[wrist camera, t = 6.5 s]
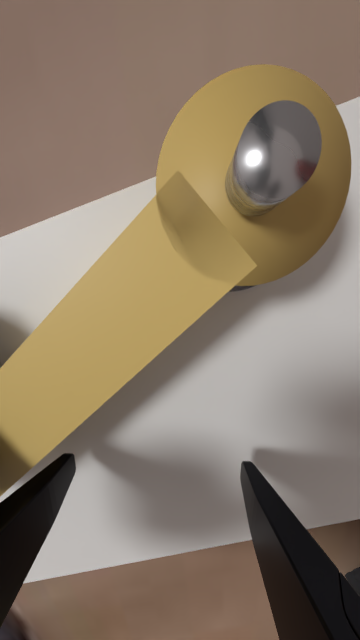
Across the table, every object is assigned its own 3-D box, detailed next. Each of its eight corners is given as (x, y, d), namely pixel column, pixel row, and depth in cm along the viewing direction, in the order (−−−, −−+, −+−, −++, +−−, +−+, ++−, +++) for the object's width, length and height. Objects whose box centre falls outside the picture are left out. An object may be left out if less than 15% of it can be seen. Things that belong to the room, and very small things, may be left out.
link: (242, 92, 5) (270, 2, 4) (329, 216, 6) (389, 191, 4) (-43, 412, 8) (-105, 449, 6) (39, 472, 9) (3, 520, 7)
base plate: (-158, 312, 9) (-202, 316, 8) (419, 90, 6) (462, 56, 5) (26, 560, 12) (13, 585, 11) (431, 478, 10) (457, 500, 9)
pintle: (135, 163, 6) (75, 25, 3) (290, 100, 6) (444, -157, 2) (182, 308, 7) (180, 335, 4) (316, 266, 7) (445, 254, 3)
